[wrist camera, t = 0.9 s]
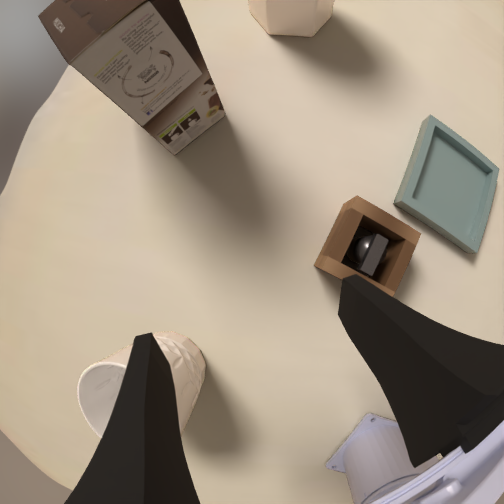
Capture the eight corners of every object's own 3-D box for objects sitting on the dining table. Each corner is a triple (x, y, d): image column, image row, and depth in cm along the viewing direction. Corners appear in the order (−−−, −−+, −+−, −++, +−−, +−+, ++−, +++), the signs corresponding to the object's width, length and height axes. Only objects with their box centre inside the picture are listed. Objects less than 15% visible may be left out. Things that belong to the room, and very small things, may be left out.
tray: (489, 172, 23) (499, 168, 21) (466, 252, 23) (477, 253, 21) (422, 121, 23) (430, 114, 21) (393, 203, 24) (401, 200, 22)
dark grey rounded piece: (374, 244, 24) (395, 243, 19) (360, 273, 24) (378, 279, 19) (352, 232, 24) (370, 229, 19) (338, 262, 24) (353, 265, 19)
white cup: (144, 397, 26) (96, 450, 16) (127, 325, 26) (64, 358, 16) (218, 399, 25) (192, 465, 15) (205, 322, 25) (165, 363, 15)
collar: (398, 235, 24) (421, 233, 19) (371, 295, 24) (388, 304, 20) (343, 204, 24) (356, 195, 20) (313, 265, 24) (321, 269, 20)
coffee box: (229, 113, 25) (177, -17, 9) (174, 157, 25) (65, 68, 9) (177, 62, 25) (112, -47, 9) (128, 100, 26) (34, 14, 9)
